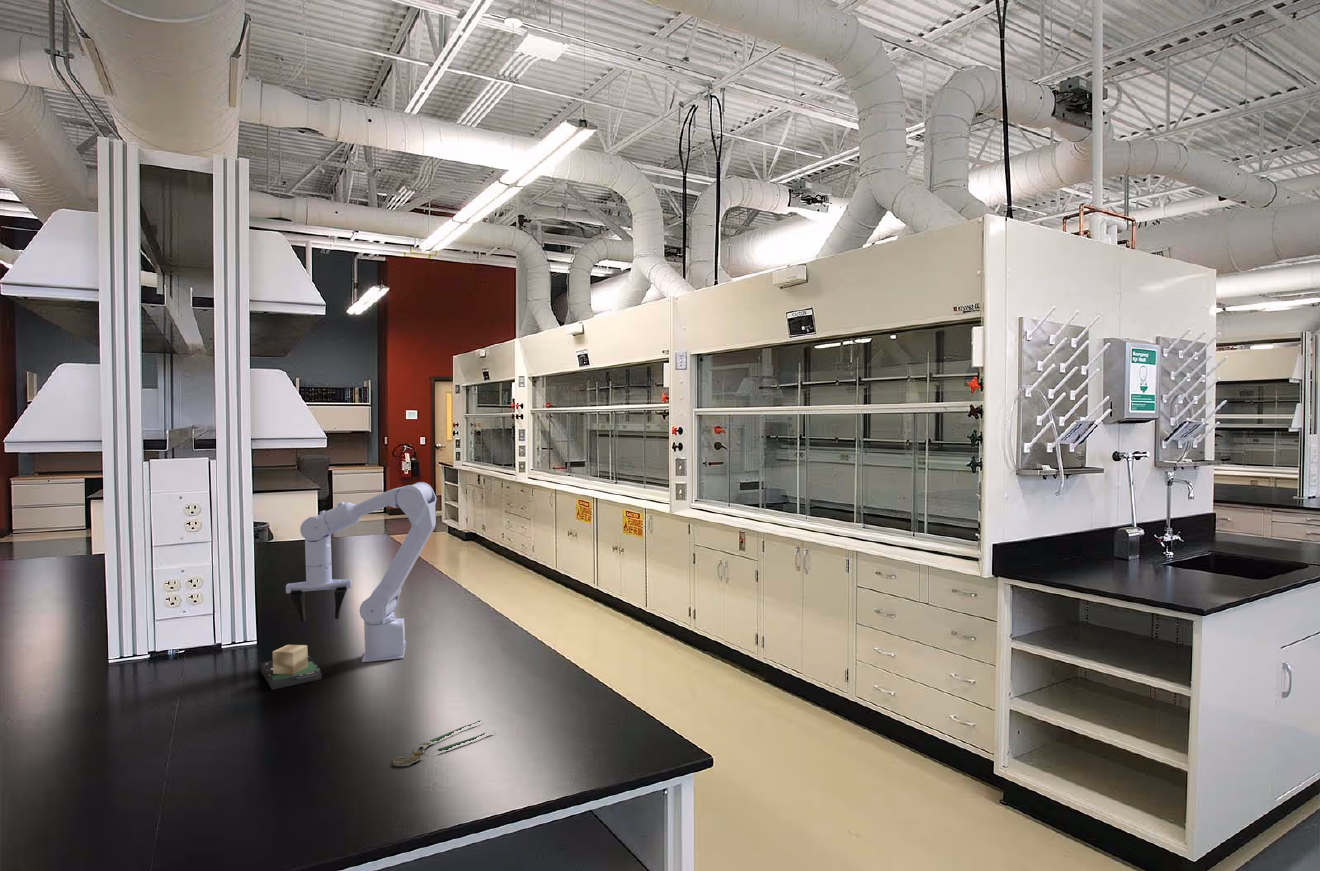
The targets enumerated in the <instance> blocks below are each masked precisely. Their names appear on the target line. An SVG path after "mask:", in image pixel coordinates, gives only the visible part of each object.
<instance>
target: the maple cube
mask: <svg viewBox="0 0 1320 871" xmlns="http://www.w3.org/2000/svg"><path fill="white" fill-rule="evenodd" d="M308 655H309V653H308V645H306V644H286V645H284V646H282V647H279V648H278V649H275V650H273V651H272V661H273V674H287V675H294V674H296V673H298V672H300V671H302V670H303V669H305V668H307V667H308Z"/></svg>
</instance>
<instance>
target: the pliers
mask: <svg viewBox="0 0 1320 871" xmlns="http://www.w3.org/2000/svg"><path fill="white" fill-rule="evenodd" d="M480 721H481V720H478V721H476V722H473V723H470V724H467V725H464V726H461V727H459V728H457V729H455V730H452V731H448V732H447V733H444V734H443V735H440V736H437V737H435V738H431V739H430V740H429V741H430V742H431V741H432V742H434V741H439V740H440V739H442V738H444V737H445V736H449V735H451V734H452V733H454V731H458V730H461V729H462V728H464V727H466V726H471V725H472V724H475V723H477V722H480ZM485 733H486V732H483V733H481V734H479V735H475V736H473V737H470V738H467V739H465V740H461V741H458V742H454V743H452V744H448V745H445V746H443V747H439V748H438V749H437V750H438V751H442V750H448V749H449V748H452V747H453V746H456V745H460V744H461V743H465V742H467V741H471V740H474V739H476V738H477V737H479V736H482V735H484V734H485ZM426 742H427V743H425V742H423V743H420V744H421V745H422V744H423V745H429V744H430V743H428V741H426ZM418 749H419V748H418ZM416 750H417V749H416ZM419 750H420V749H419ZM421 750H425V748H421ZM412 755H413V756H412ZM422 755H423V752H421V751H418V752H414V753H413V752H412V754H410V757H409V758H410V759H409V760H399V761H393V763H394V764H395V763H396V764H406V763H411V762H413V761H416V760H417V759H420V757H421V756H422ZM392 759H406V758H405V756H396V757H393V758H392Z"/></svg>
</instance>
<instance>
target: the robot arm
mask: <svg viewBox="0 0 1320 871" xmlns="http://www.w3.org/2000/svg"><path fill="white" fill-rule="evenodd" d="M436 504H437V496H436V494H435V492H434V489H433V488H432V486H431V485H430V484H428V483H427V482H424V481H418V482H415V483H414V484H408V485H404V486H401V487H396V488H393V489H390V490H387V491H384V492H382V493H380V494H378V495H375V496H373V497H370V498H368V499H366V500H364V501H362V502H359V503H357V504H355V503H353V502H350V501H349V502H346V503H345V501H342V502H339V503H337V506H336V507H333V508H331V509H329V510H321V511H319V514H317V515H313V516H309V517H307V519H305V520H303V521H302V523H301V525H300V527H299V528H300V529H299V530H300V534H301V536H302V537H303V539H304V547H305V549H304V550H305V551H304V552H305V557H304V558H305V580H306V581H301V582H299V581H298V582H293V583H292V582H291V583H290V582H289V583H287V584H286V585H285V594H290V600H291V601H292V603H293V604H294V606H295V608H296V610H297V612H298V614H299V618H300V622H301V623H303V622H305V621H306V607H305V606H306V602H305V598H306V592H311V591H315V592H316V591H323V590H324V591H327V590H334V603H335V604H334V605H335V607H334V619H335V620H338V619H340V614H341V608H342V604H343V601H344V598H345V595H346V594H347V591H348V589H351V588H352V586H353V584H352V583H353V582H352V581H353V580H352V578H347V579H345V578H342V579H336V578H335V579H334V578H333V575H332V574H333V572H332V571H333V569H332V568H333V567H332V566H333V565H332V542H331V541H332V540H331V537H332V534H336V533H338V532H340V531H341V532H342V531H344V530H345V529H348V528H350V527H353V526H355V525H358V524H359V523H360V520H361V518H362V517H363V516H365V515H368V514H371V513H373V512H376V511H378V510H381V509H384V508H386V507H390V508H395V509H397V508H400V509H401V511H402V512H403V513H404V514H405V515H406V517H407V518H408V520H409V523H410V525H411V527H410V529H409V530H408V532H407V535H406V536H405V539H404V540H403V542H402V544H401V545H400V547H399V549H398V550H397V552H396V554H395V555H394V558H393V560H392V562H391V563H390V565H389V567H388V569H387V570H386V572H385V574H384V576H383V578H382V579H381V581H380V582H379V583H378V585H377V586H376V587H375V589H374V590H373V591H372V593H371V594H370V596H369V597H368V598H366V599H365V600H363V601H362V603H361V604H360V606H359V615H360V617H361V619H362V620H363V627H364V628H363V629H364V630H363V633H364V636H363V637H364V652H363V656H362V657H361V658H362V659H361V663H370V662H377V661H378V662H379V661H381V662H382V661H388V660H397V659H404V656H405V653H406V652H405V651H406V647H407V642H406V640H405V639H406V636H405V634H406V633H405V629H406V628H405V618H403V617H402V618H397V617H396V614H395V610H396V609H397V607H398V605H399V597H400V594H401V593H402V587H403V585H404V583H405V581H406V580H407V578H408V576H409V574H410V573H411V571H412V569H413V567H414V566H415V564H416V562H417V560H418V558H419V556H420V555H421V553H422V551H423V549H424V548H425V546H426V544H427V542H428V540H429V539H430V537H431V535H432V533H433V531H434V530H435V528H436V524H437V520H436V519H437V516H436V515H437V514H436V512H437V511H436Z"/></svg>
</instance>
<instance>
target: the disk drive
mask: <svg viewBox="0 0 1320 871" xmlns="http://www.w3.org/2000/svg"><path fill="white" fill-rule="evenodd" d="M260 672H261V675H262V676H263V677H264V679H265V681H266V682H267V684H268V686H269V688H270V689H271V690H273V691H274V690H277V689H282V688H285V687H286V688H287V687H291V686H295V685H300V684H304V683H308V682H309V683H310V682H314V681H318V680H322V671H321V669H320V666H318V665H317V663H316V662H315V661H314V659H313V658H312V657H311V656H310V654H308V667H307V668H305V669H303V670H302V671H300V672H298V673H296V674H294V675H287V674H273V660H268V661H263V662H260Z"/></svg>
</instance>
